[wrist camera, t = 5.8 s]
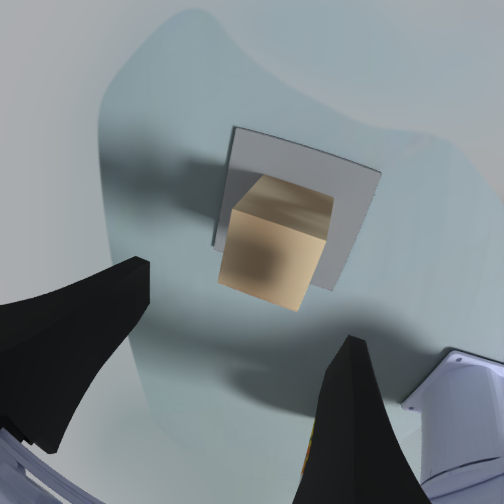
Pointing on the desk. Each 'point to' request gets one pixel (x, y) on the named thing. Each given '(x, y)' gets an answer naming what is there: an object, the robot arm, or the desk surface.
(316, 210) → the oak block
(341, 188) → the pad
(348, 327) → the desk surface
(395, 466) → the robot arm
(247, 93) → the desk surface
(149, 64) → the desk surface
